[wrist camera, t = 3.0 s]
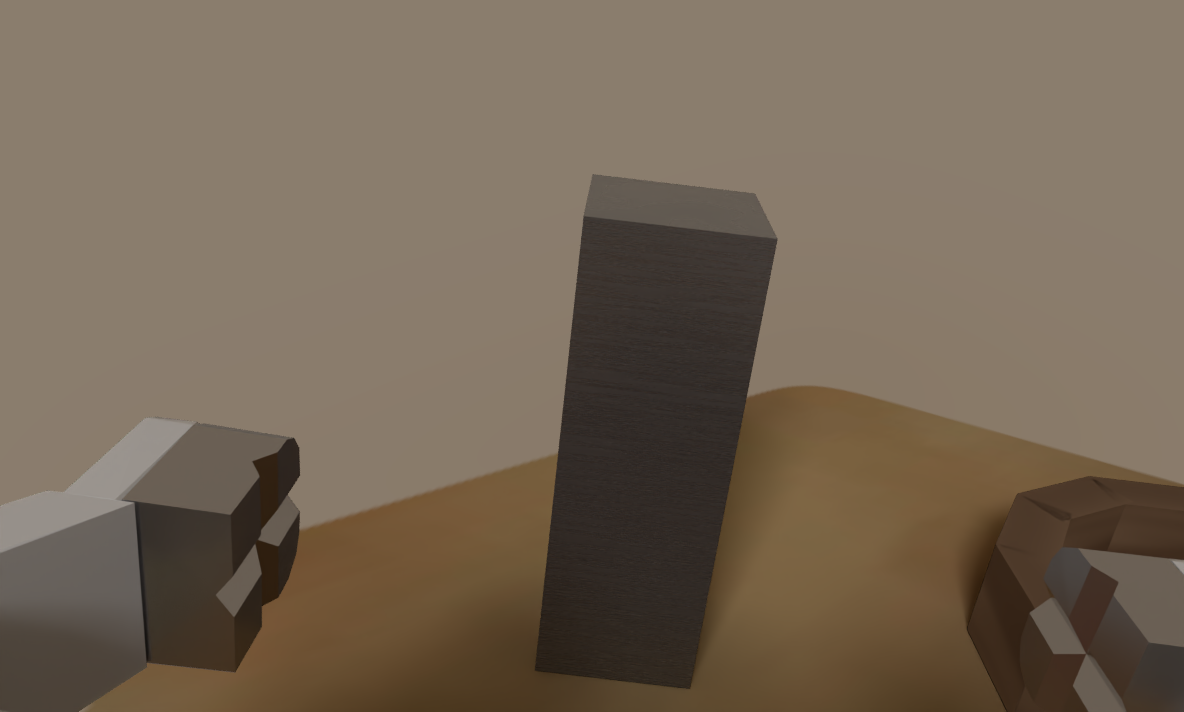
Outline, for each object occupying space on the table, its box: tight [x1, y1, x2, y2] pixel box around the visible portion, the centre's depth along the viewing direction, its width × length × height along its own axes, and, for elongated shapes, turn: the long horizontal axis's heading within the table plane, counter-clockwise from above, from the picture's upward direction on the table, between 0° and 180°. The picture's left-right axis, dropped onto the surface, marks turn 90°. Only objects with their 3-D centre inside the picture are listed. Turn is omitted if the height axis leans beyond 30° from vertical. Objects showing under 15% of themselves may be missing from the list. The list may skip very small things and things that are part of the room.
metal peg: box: [535, 174, 777, 689], centre depth 23 cm, size 4×4×12 cm
